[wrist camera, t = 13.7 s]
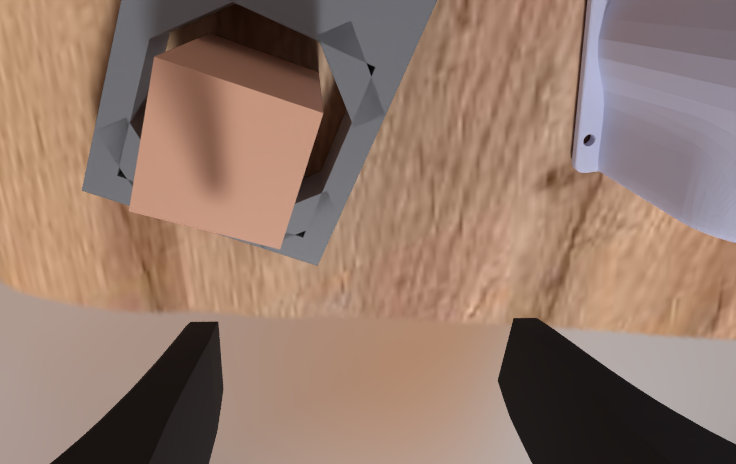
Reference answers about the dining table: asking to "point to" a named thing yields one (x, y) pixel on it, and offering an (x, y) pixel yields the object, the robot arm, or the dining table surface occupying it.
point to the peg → (226, 139)
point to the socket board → (345, 58)
